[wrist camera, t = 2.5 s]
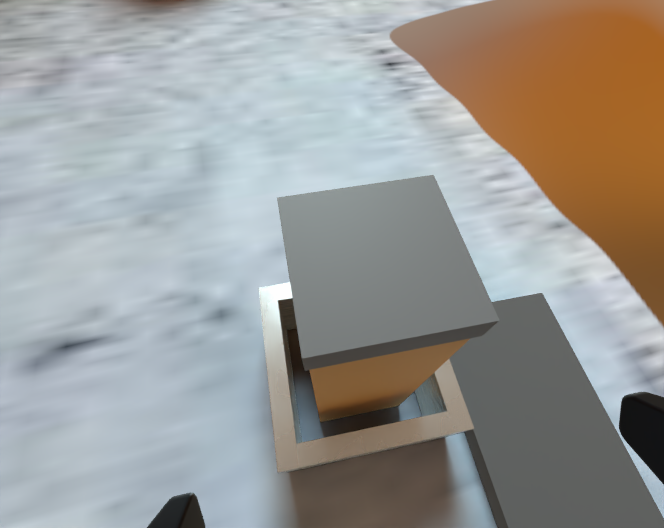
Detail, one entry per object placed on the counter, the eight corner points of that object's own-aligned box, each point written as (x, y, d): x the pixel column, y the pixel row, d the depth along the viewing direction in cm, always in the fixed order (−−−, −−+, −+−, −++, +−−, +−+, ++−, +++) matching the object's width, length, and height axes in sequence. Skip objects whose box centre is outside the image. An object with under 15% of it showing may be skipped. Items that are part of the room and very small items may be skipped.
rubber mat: (664, 560, 15) (690, 567, 14) (523, 600, 14) (538, 610, 13) (531, 301, 21) (541, 292, 20) (426, 321, 20) (431, 313, 19)
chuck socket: (445, 437, 17) (474, 428, 14) (288, 472, 16) (277, 472, 13) (400, 296, 21) (414, 261, 17) (270, 319, 20) (258, 288, 17)
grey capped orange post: (401, 407, 18) (499, 320, 7) (318, 424, 17) (301, 358, 7) (379, 328, 20) (433, 175, 10) (305, 342, 20) (276, 198, 9)
